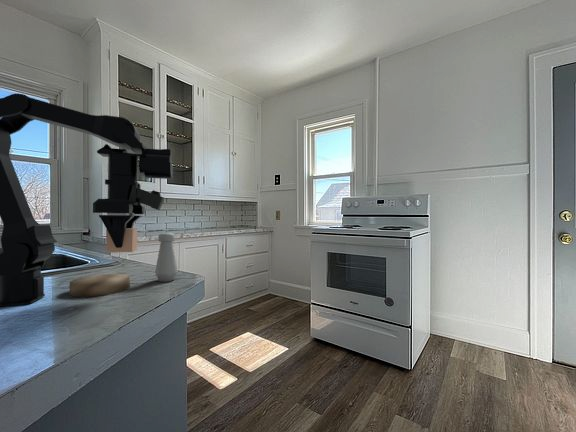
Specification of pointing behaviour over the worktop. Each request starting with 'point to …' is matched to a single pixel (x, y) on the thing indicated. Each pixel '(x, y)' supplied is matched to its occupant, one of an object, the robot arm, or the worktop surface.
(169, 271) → the salt shaker
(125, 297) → the worktop surface
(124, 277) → the walnut base
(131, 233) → the terracotta block
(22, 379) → the worktop surface
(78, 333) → the worktop surface
